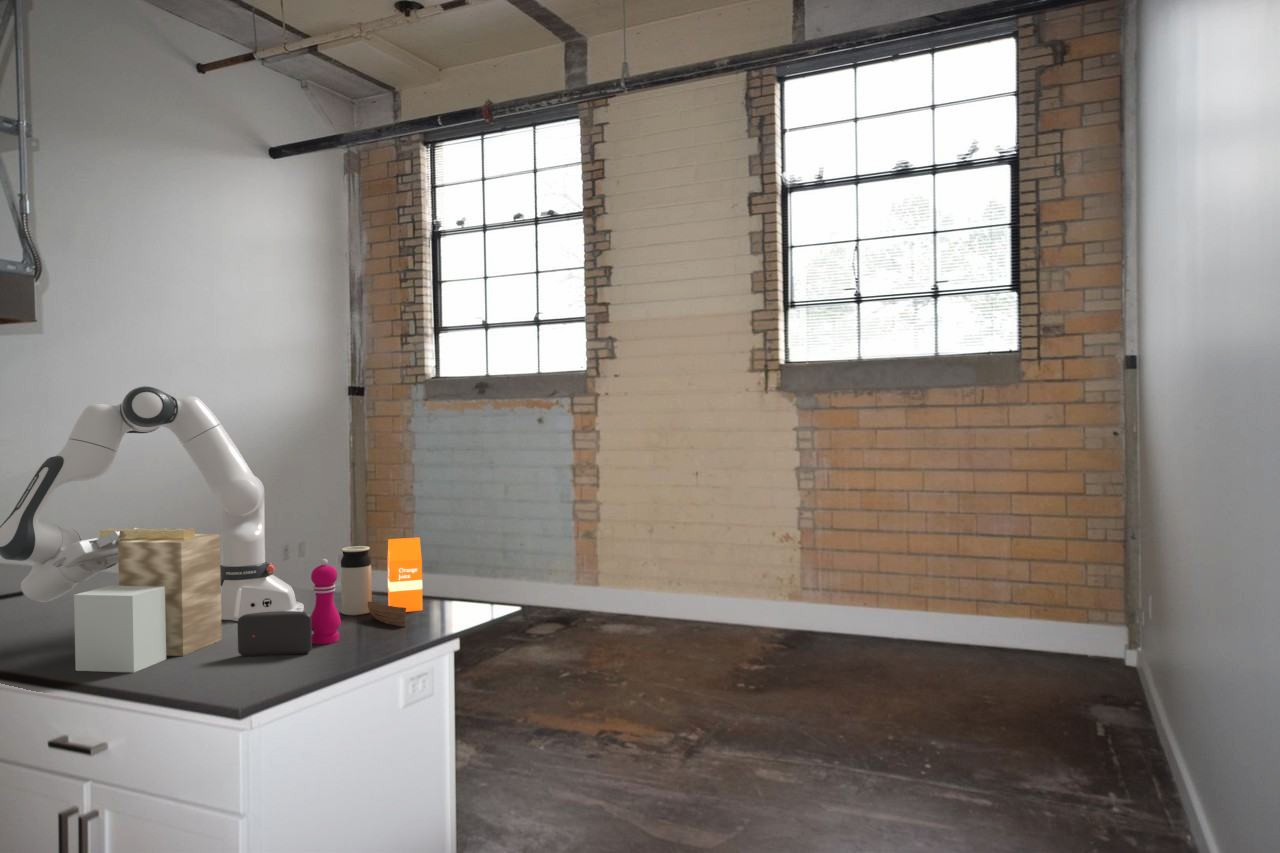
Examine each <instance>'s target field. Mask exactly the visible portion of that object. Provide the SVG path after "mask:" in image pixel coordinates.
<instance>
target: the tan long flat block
mask: <svg viewBox="0 0 1280 853" xmlns="http://www.w3.org/2000/svg"><path fill="white" fill-rule="evenodd" d="M113 531H120V532H121V534H122V537H121V538H119V539H188V538H193V537H195V534H196V529H195V528H157V527H156V528H155V527H153V528H152V527H151V528H148V527H147V528H143V527H142V528H138V527H136V528H135V527H131V528H130V527H129V528H126V527H124V528H123V527H118V528H115V527H111V528H105V529H101V530H99V537H103V536H106V535H108V534H110V533H112V532H113Z"/></svg>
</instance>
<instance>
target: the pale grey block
mask: <svg viewBox="0 0 1280 853" xmlns="http://www.w3.org/2000/svg"><path fill="white" fill-rule="evenodd" d="M73 609H74V610H73V612H74V653H75V654H74V655H75V656H74V657H75V658H74V660H75V671H76V672H102V673H103V672H106V673H137V672H138V671H141V670H144V669H146V668H149V667H151V666H154V665H156V664H159V663H160V662H161V663H162V662H163V661H166V660H167V655H166V617H165V587H163V586H119V585H105V586H102V587H98V588H95V589H90V590H88V591H83V592H79V593H75V594H73Z"/></svg>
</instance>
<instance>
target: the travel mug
mask: <svg viewBox="0 0 1280 853" xmlns="http://www.w3.org/2000/svg"><path fill="white" fill-rule="evenodd" d="M370 549H371V548H370V546H365V545H364V546H363V545H358V546H357V545H355V546H345V547H344V548H341V552H342V558H341V559H340V583H341V584H340V590H341V591H340V594H341V595H340V596H341V600H340V601H341V602H340V603H341V614H343V615H344V616H362V615H367V614H370V611H369V609H368V602H373V600H372V599H373V598H372V596H373V594H372V592H373V590H372V559H371V556H370V555H369V551H370Z"/></svg>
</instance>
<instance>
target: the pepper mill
mask: <svg viewBox="0 0 1280 853" xmlns="http://www.w3.org/2000/svg"><path fill="white" fill-rule="evenodd" d="M328 563H329V562H328V559H327V558H322V559H321V560H320V562H319V564H320V565H318V566H316V567H315V568H314V569H312V571H311V574H310V580H311V582H312V583H313V585H314V586H313V592H314V594H315V605H314V609H313V611H312V613H311V615H310V616H311V625H312V645H329V644H334V643H336V642H338V641H339V640H340V633H339V631H338V629H339V628H340V627H341V623H342V620H341V616H340V613H339V612H338V609H337V607H336V605H335V600H334V592H335V591H336V584H335V582H336V581H337V579H338V571H337V569H336V568H335V567H334V566H332V565H329V564H328Z"/></svg>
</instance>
